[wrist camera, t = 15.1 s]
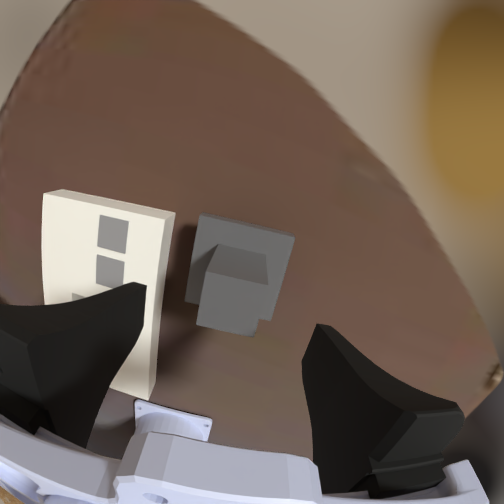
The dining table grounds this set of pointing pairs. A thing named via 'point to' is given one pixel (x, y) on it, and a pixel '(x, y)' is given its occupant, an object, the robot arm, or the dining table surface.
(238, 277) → the plug
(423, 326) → the dining table surface
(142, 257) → the white flat panel
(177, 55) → the dining table surface
